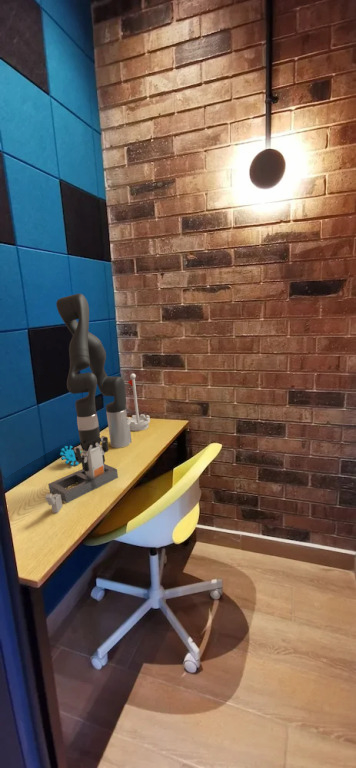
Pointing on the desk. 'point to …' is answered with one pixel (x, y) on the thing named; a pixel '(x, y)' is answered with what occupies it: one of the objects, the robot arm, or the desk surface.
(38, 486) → the desk surface
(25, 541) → the desk surface
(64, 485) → the cinder block
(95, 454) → the skincare box
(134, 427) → the flag stand
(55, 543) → the desk surface
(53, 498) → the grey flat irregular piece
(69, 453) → the blue virus model
